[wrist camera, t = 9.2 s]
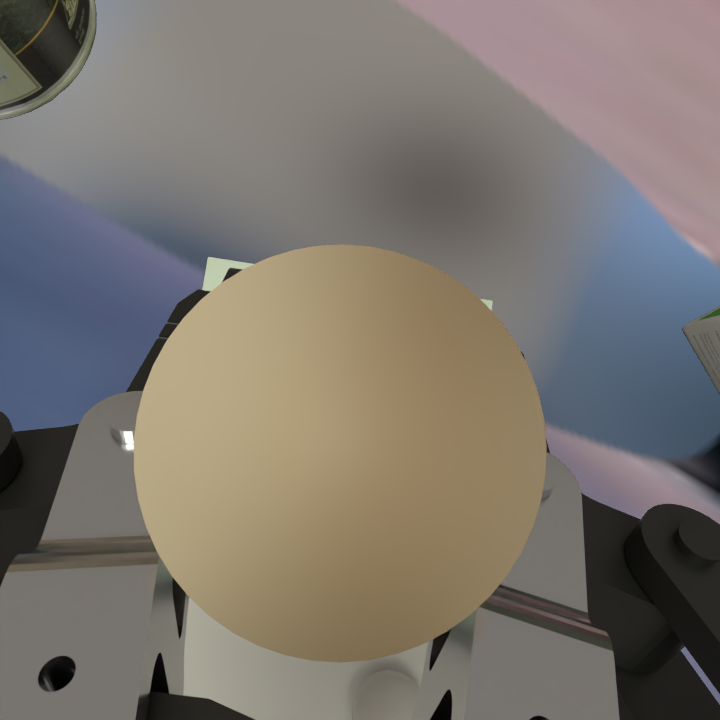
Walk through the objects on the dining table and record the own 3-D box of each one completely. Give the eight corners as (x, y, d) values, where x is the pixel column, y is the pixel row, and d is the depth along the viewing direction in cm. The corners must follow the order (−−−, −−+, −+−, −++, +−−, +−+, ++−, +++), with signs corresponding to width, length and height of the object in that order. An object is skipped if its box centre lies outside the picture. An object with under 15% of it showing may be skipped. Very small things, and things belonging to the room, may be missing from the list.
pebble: (345, 727, 24) (347, 772, 21) (355, 653, 24) (359, 686, 21) (416, 736, 24) (428, 782, 21) (425, 661, 24) (438, 696, 21)
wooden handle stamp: (202, 528, 14) (-113, 791, 4) (240, 299, 15) (50, 50, 5) (433, 559, 15) (668, 884, 4) (461, 332, 15) (721, 158, 5)
